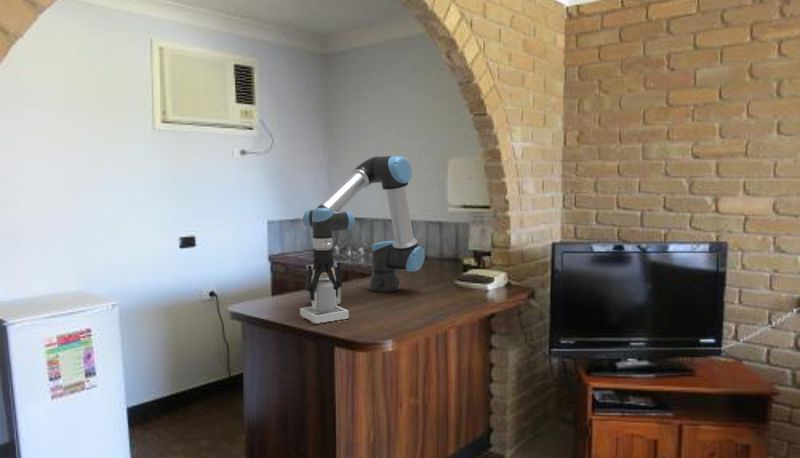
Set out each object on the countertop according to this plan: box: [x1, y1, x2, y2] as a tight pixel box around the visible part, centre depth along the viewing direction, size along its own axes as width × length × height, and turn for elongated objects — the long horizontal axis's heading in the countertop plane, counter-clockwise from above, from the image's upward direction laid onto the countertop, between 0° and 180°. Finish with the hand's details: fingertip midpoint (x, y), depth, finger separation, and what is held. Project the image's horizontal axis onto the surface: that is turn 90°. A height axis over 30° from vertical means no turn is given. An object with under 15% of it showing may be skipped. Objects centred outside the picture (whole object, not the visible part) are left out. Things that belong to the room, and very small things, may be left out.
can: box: [315, 280, 334, 313], centre depth 210 cm, size 8×8×12 cm
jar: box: [310, 266, 342, 306], centre depth 233 cm, size 13×13×18 cm
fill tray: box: [299, 305, 350, 323], centre depth 211 cm, size 14×14×4 cm
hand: (324, 306), depth 210 cm, fingers closed on can, 7 cm apart
